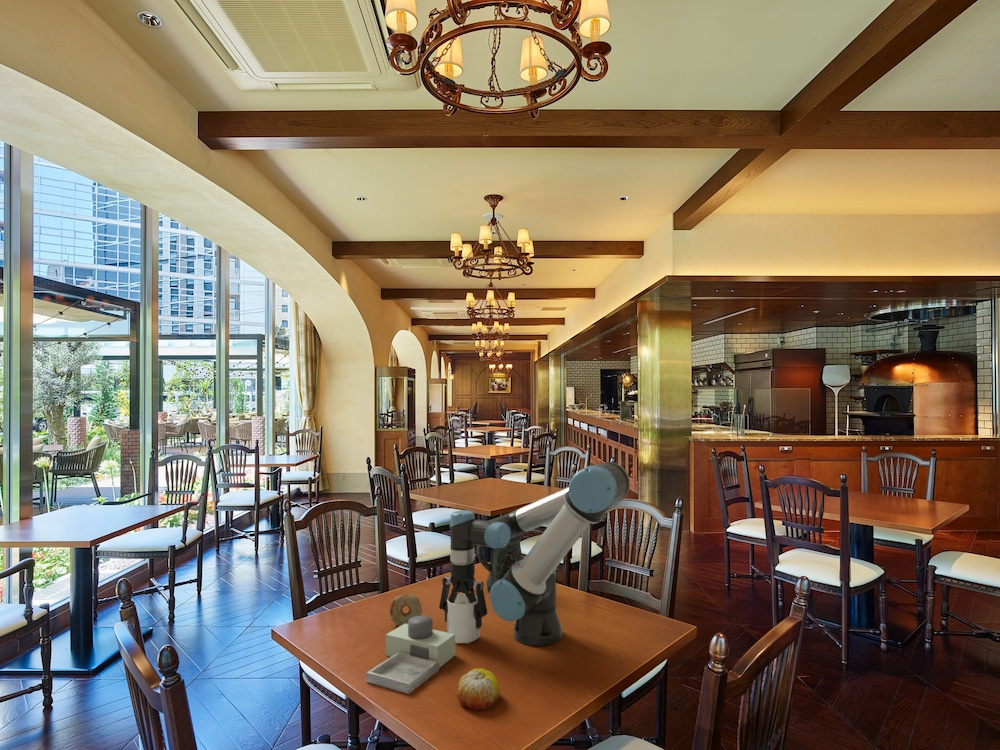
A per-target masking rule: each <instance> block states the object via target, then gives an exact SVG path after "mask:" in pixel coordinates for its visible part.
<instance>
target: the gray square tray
mask: <svg viewBox="0 0 1000 750" xmlns="http://www.w3.org/2000/svg"><path fill="white" fill-rule="evenodd" d="M439 669H440V667H439V662H438V661H434V660H430V659H426V658H422V657H418V656H414V655H410V654H406V653H402V652H398V653H396V654H394V655H393V656H391V657H388V658H386V659H385V660H384V661H382V662H381V663H379V664H377V665H376V666H374V667H373V668H371V669H370V670H368V671H367V672H366V673H365V674H366V679H365V680H366V683H369V684H373V685H376V686H380V687H382V688H387V689H390V690H394V691H396V692H399V693H400V692H401V693H404V694H406V695H408V694H410V693H412V692H413V691H414V690H416V689H417V688H418V687H419V686H420V685H422V684H424V683H425V682H426V681H427V680H428V679H430V678H431V677H432V676H434V675H435V674H436V673H438V672H439V671H440V670H439Z"/></svg>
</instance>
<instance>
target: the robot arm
mask: <svg viewBox="0 0 1000 750" xmlns="http://www.w3.org/2000/svg"><path fill="white" fill-rule="evenodd" d="M630 487H631V479H630V476H629V473H628V472H627V471H626V469H625V468H624V467H623V466H622V465H620V464H618V463H616V462H610V461H606V462H602V463H599V464H596V465H595V464H594V465H587V466H585V467H582V468H581V469H580V470H578V471H577V472H576V473H575V474H574V475H573V476H572V477H571V480H570V481H569V484H568V486H567V487H564V488H563V489H560V490H558V491H556V492H554V493H552V494H549V495H546V496H545V497H543V498H539V499H538V500H536V501H534V502H531V503H529V504H527V505H524V506H522V507H521V508H518V509H516V510H513V511H511V512H508V513H506V514H503V515H502V516H498V517H496V518H493V519H489V520H481V519H476V517H475V513H474V511H471V510H464V509H463V510H457V511H453V512H451V514H450V519H449V520H450V523H449V530H450V532H449V535H450V552H449V553H450V562H451V563H450V576H445V577H443V578H441V579H442V580H441V581H442V590H441V595H440V601H439V605H438V606H439V607H438V608H439V610H443V611H444V621H445V623H446V632H447V633H449V620H448V604H447V599H448V598H449V602H450V603H453V604H454V601H455V599H456V597H457V594H459V593H461V594H465V595H466V597H468V600H469V602H470V603H473V602H476V601H477V600H478V603H477V604H476V605H474V615H475V617H474V618H473V640H474V641H476V640H478V639H479V638H480V637H481V636H480V631H481V630H480V628H482V626H483V622H482V619H483V618H484V617H485V616H487V614H488V609H487V604H486V596H485V591H484V585H485V583H484V582H483V581H476V579H475V573H476V572H475V571H476V569H475V567H476V566H475V564H476V563H475V545H476V546H478V545H480V546H485V547H487V548H491V549H492V548H504V547H506V546H507V544H508V543H509V540H510V539H511V538H514V537H516V536H519V535H521V536H522V535H523V534H525V533H527V532H530V531H532V530H534V529H538V528H539V527H541V526H544V525H546V524H549V525H548V526H547V527H546V529H545V530H544V532H542V533H541V535H540V537H539V538H538V540H536V542H535V543H534V545H533V546H532V548H531V549H530V550H529V551H528V553H527V555H525V557H524V558H522V559H523V560H520V561H519V562H515V563H514V564H513V565H512V567H511V568H510V569H509V571H508V572H507V573H506V575H505V576H504V577H503V578H502V579H501V580H498V581H496V582H495V584H493V586H492V587H491V590H490V593H489V600H490V605H491V608H492V609H493V612H494V613H495V614H496V615H497V616H498V617H499V618H500V619H502V620H504V621H507V622H515V623H514V625H513V637H514V639H515V640H516V641H517V642H519V643H522V644H525V645H529V646H541V647H542V646H549V645H553V644H556V643H558V642H559V641H561V639H562V638H563V627H562V623H561V622H560V618H559V615H558V613H557V573H556V572H557V571H556V569H557V567H558V566H559V565H560V563H561V562H562V561H563V559H564V558H565V557H566V555H567V554H568V553H569V552H570V550H572V548H573V546H574V545H575V544H576V543H577V541H578V540H579V539H580V537H581V536H582V535H583V533H584V532H585V531H586V530H587V528H588V527H589V526H590V524H598V523H599V522H600V521H601V520H602V518H603V517H604V516H605V515H606V514H607V512H608V511H609V509H611V507H612V506H613V505H615V504H617V503H619V502H621V501H622V500H624V499H625V498H626V497H627V495H628V494H629V492H630V489H631V488H630ZM451 585H452V588H451ZM450 588H451V590H450ZM449 594H450V595H449ZM475 595H476V596H477V599H476V596H475Z"/></svg>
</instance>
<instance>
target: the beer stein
mask: <svg viewBox="0 0 1000 750" xmlns="http://www.w3.org/2000/svg"><path fill="white" fill-rule="evenodd" d="M521 541H522V534H521V535H519V536H516V537H514V538H511V539H510V540H509V543H508V544H507V546H506V547H504V548H491V552H490V553H491V554H490V561H488V560H487V558H485V555H484V553H483V552H484V551H483V550H484V548H485V547H486V546H480V545H476V557H477V560H479V562H480V564H481V565H482V566H483V567H484V569H486V571H488V576H487V579H486V583H485V584H486V589H487V593H489V594H490V590H491V587H492V586H493V584H495V582H496V581H498V580H501V579H502V578H503V577H504V576H505V575H506V573H507V572H508V571H509V569H510V568H511V567H512V565H513V564H514V563H515V562H519V561H520V560H523V559H524V558H523V553H522V548H521ZM489 562H490V563H489Z"/></svg>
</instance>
